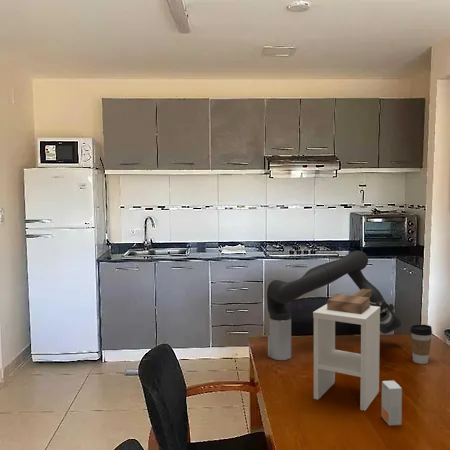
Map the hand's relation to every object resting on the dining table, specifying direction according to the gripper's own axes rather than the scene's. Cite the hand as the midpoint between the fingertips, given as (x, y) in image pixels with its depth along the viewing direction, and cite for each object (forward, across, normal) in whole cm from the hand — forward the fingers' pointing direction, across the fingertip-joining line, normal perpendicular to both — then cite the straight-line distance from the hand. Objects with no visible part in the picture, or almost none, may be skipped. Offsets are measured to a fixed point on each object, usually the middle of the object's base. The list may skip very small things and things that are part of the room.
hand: (371, 301), depth 197 cm
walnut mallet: (+20, 0, +7) cm, 21 cm away
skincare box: (+23, +18, +44) cm, 53 cm away
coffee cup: (-28, +16, +16) cm, 36 cm away
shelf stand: (+13, 0, +39) cm, 41 cm away
